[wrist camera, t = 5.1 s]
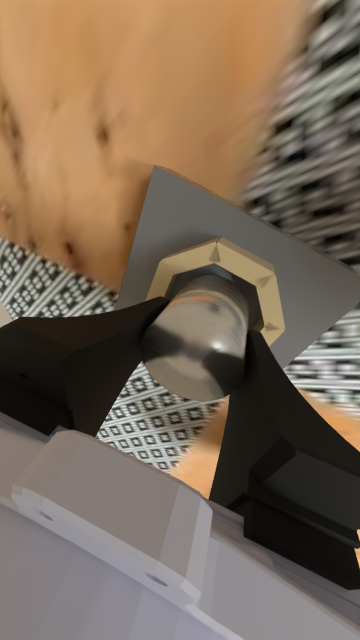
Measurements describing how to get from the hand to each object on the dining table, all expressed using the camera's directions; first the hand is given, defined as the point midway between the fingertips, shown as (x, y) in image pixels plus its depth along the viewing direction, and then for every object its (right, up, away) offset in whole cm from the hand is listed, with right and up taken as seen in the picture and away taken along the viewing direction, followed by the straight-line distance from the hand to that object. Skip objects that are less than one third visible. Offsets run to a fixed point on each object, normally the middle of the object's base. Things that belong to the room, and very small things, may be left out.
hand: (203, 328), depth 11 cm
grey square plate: (+2, +3, +4) cm, 5 cm away
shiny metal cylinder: (+1, +1, +1) cm, 2 cm away
